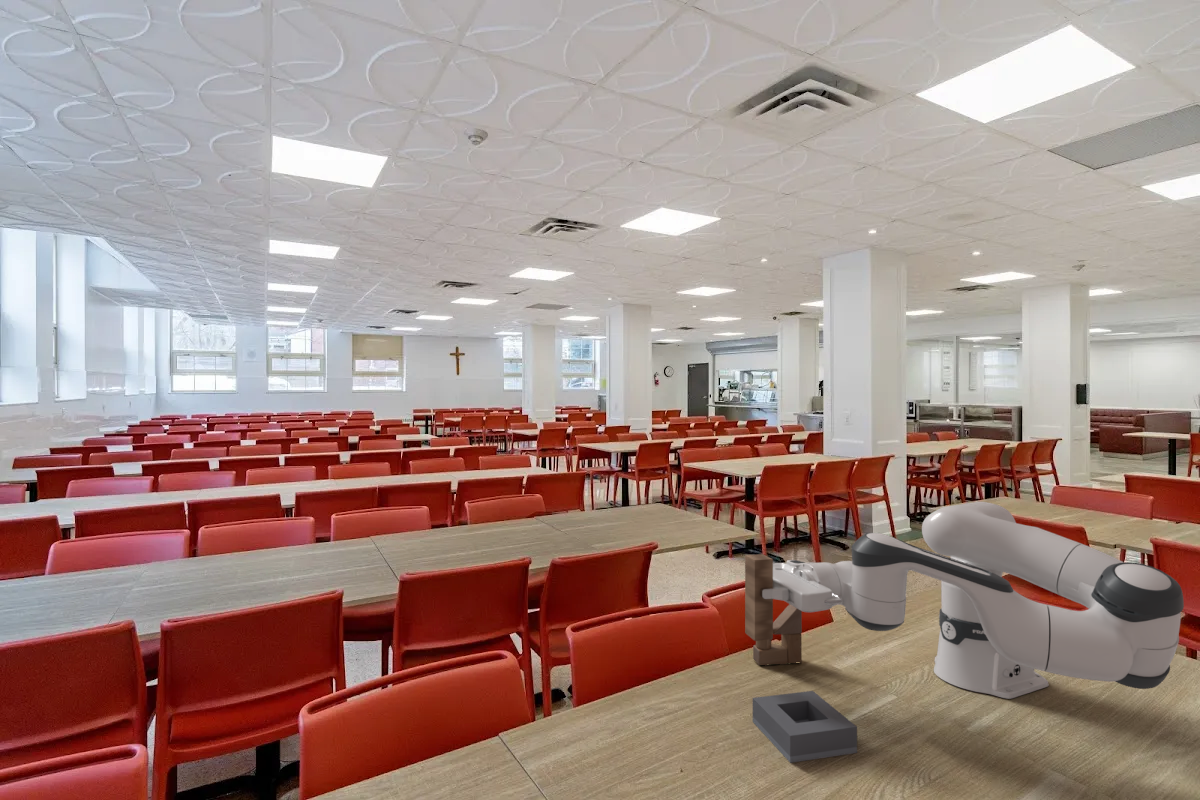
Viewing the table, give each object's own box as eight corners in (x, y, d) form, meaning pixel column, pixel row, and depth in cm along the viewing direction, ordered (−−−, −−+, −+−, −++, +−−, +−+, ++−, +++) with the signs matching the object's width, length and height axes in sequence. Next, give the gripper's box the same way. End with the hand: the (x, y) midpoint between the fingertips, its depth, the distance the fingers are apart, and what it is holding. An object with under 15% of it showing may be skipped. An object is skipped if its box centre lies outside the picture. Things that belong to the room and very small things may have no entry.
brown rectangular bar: (762, 631, 117) (762, 554, 117) (772, 639, 113) (772, 559, 113) (745, 633, 116) (745, 555, 116) (754, 640, 112) (754, 560, 113)
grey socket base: (812, 713, 111) (812, 690, 111) (857, 752, 98) (856, 726, 98) (752, 721, 108) (752, 697, 108) (790, 762, 95) (790, 735, 95)
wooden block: (802, 663, 133) (802, 587, 133) (759, 666, 131) (759, 589, 132) (794, 657, 137) (794, 582, 137) (752, 659, 135) (752, 584, 135)
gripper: (847, 617, 108) (782, 623, 104) (788, 585, 127) (732, 589, 124) (847, 584, 108) (782, 589, 105) (788, 557, 128) (732, 560, 124)
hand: (754, 589), depth 115 cm, fingers closed on brown rectangular bar, 4 cm apart
